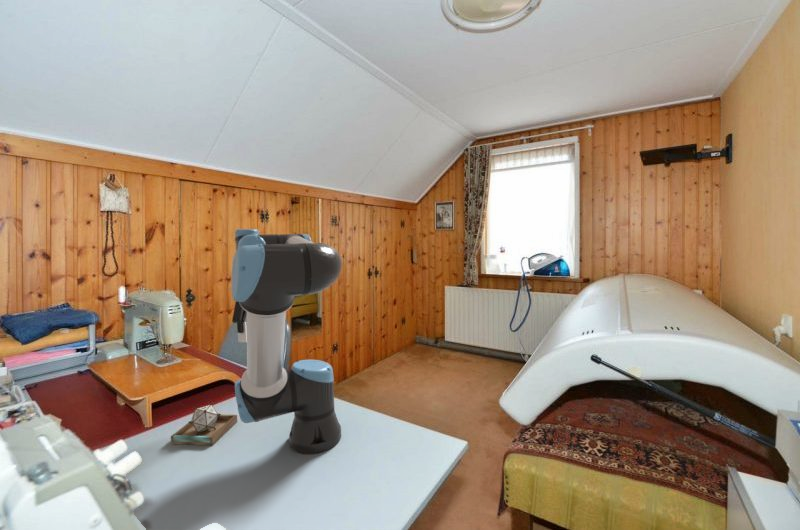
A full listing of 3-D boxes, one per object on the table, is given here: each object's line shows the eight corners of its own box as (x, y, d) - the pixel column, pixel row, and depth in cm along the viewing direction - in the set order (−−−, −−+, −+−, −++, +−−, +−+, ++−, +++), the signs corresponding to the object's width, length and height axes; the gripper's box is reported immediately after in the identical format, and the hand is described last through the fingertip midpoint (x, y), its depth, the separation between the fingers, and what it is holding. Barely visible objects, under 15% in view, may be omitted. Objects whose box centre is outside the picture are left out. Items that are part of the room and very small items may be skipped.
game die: (210, 443, 108) (211, 427, 103) (182, 436, 107) (182, 419, 101) (224, 417, 115) (226, 400, 110) (198, 410, 114) (199, 393, 109)
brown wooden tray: (237, 421, 115) (237, 414, 115) (212, 445, 102) (212, 437, 102) (200, 420, 116) (199, 413, 116) (171, 443, 103) (170, 436, 103)
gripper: (256, 271, 131) (259, 326, 133) (217, 279, 106) (221, 347, 108) (276, 270, 131) (279, 326, 132) (240, 279, 106) (244, 347, 108)
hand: (253, 336), depth 120 cm, fingers open, 13 cm apart
